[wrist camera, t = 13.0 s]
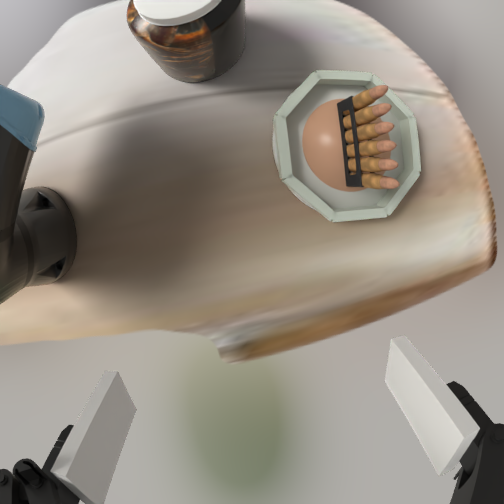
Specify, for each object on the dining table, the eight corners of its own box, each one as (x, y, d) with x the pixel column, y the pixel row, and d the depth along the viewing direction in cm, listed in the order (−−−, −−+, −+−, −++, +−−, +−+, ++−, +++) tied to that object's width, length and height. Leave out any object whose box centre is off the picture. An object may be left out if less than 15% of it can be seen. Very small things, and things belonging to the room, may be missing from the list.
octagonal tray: (280, 223, 37) (284, 230, 33) (263, 79, 32) (265, 69, 28) (409, 211, 37) (424, 216, 33) (396, 82, 32) (409, 75, 28)
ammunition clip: (359, 185, 34) (408, 194, 23) (346, 186, 34) (390, 195, 23) (350, 103, 31) (394, 78, 20) (336, 103, 31) (376, 76, 20)
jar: (241, 84, 32) (239, 33, 18) (152, 84, 32) (103, 43, 17) (248, 12, 29) (250, -54, 15) (165, 14, 29) (132, -45, 14)
